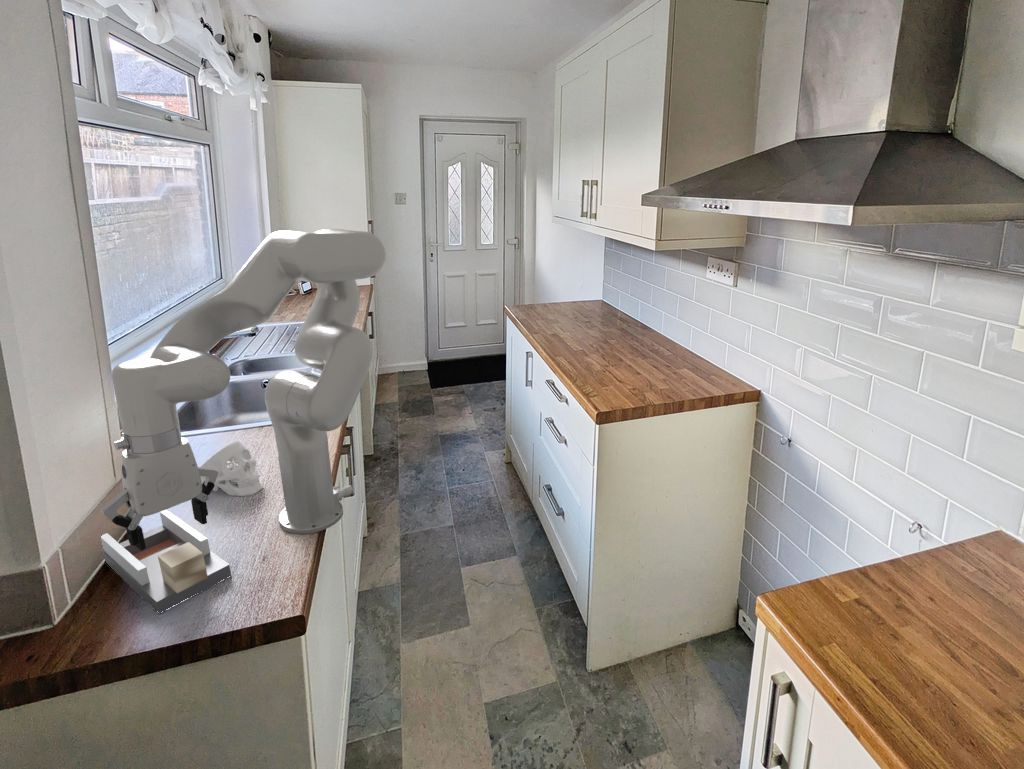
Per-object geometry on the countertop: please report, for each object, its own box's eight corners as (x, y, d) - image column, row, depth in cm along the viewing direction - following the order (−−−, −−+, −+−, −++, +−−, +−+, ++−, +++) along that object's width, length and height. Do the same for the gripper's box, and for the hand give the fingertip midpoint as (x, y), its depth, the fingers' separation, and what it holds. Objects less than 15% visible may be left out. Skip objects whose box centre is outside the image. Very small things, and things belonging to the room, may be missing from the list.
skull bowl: (248, 499, 124) (215, 451, 123) (210, 519, 130) (178, 474, 129) (281, 476, 134) (250, 431, 132) (244, 496, 140) (215, 453, 138)
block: (193, 566, 101) (188, 541, 100) (207, 577, 99) (202, 552, 97) (163, 581, 98) (157, 556, 96) (177, 593, 95) (171, 567, 93)
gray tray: (104, 562, 106) (97, 536, 104) (173, 532, 115) (167, 508, 113) (159, 614, 94) (152, 586, 92) (231, 576, 103) (226, 550, 101)
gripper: (99, 464, 82) (122, 567, 87) (220, 427, 95) (233, 519, 100) (79, 449, 86) (102, 549, 92) (197, 416, 99) (211, 505, 105)
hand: (171, 533), depth 96 cm, fingers open, 9 cm apart
